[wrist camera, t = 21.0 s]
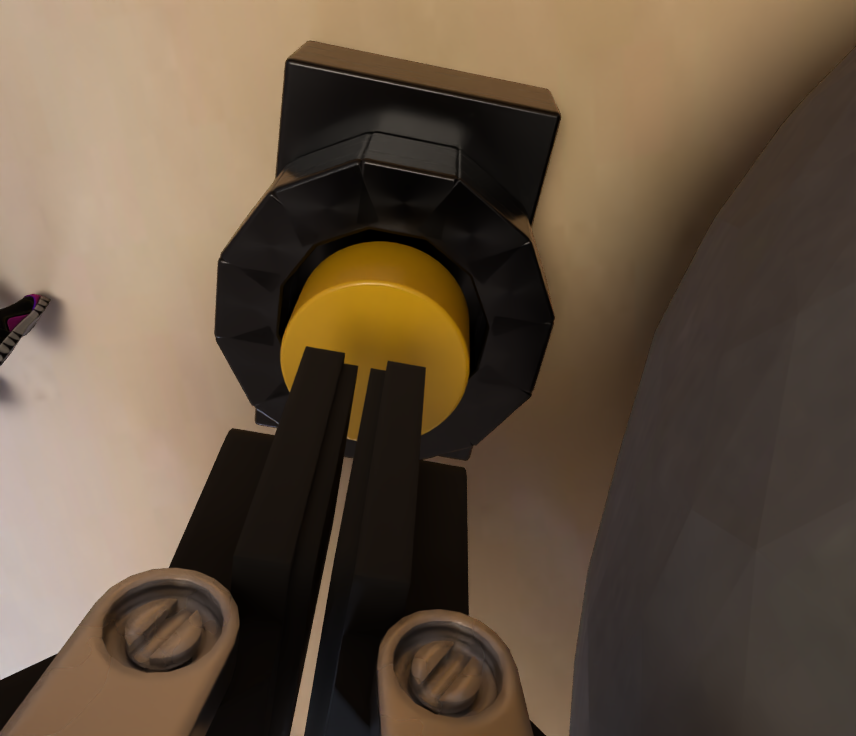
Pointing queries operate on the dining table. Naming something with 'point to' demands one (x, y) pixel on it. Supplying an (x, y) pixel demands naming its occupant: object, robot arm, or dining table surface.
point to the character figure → (19, 321)
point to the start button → (385, 322)
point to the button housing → (399, 218)
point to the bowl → (741, 469)
